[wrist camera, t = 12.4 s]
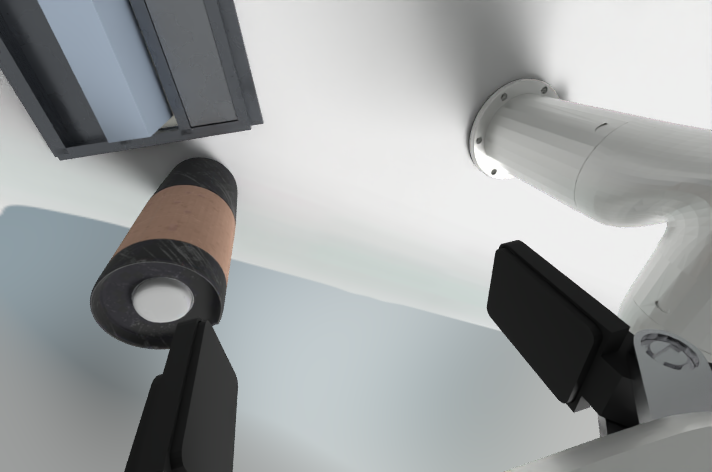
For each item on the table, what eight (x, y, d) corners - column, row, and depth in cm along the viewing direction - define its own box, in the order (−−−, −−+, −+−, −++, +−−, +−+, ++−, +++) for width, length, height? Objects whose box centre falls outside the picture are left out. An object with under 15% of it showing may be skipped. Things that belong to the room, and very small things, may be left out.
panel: (125, -10, 27) (81, -25, 20) (172, 116, 32) (150, 136, 26) (85, -7, 26) (26, -21, 20) (140, 120, 32) (108, 142, 25)
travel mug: (163, 150, 34) (73, 257, 18) (240, 158, 37) (224, 259, 20) (169, 216, 38) (98, 355, 21) (239, 219, 40) (225, 347, 24)
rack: (221, -48, 28) (218, -55, 25) (263, 122, 35) (263, 128, 33) (-52, -26, 25) (-83, -32, 22) (58, 155, 32) (43, 164, 30)
